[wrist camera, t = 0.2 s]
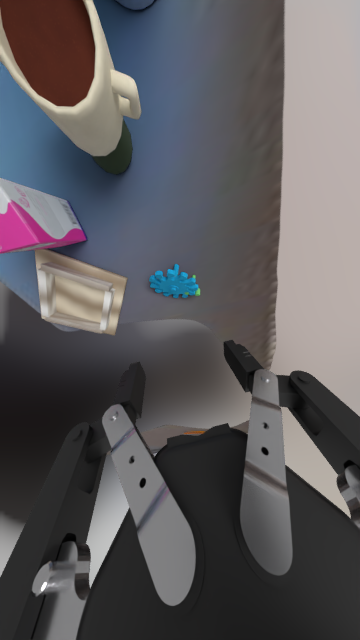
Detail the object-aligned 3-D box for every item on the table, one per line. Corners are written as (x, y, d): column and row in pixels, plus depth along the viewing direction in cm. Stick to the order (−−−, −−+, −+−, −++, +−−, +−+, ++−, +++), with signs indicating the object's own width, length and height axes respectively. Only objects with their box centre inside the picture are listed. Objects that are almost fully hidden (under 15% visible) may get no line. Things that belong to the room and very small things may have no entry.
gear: (143, 292, 29) (156, 269, 21) (148, 268, 31) (162, 238, 22) (186, 304, 34) (212, 290, 25) (189, 284, 35) (214, 263, 27)
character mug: (150, 118, 18) (131, -58, 7) (148, 188, 22) (132, 139, 11) (61, 87, 16) (-146, -215, 5) (74, 169, 20) (-34, 86, 9)
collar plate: (38, 245, 24) (21, 246, 21) (127, 278, 29) (123, 282, 26) (45, 316, 32) (32, 324, 29) (115, 333, 36) (111, 341, 33)
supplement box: (34, 209, 22) (-68, 186, 12) (69, 200, 22) (-7, 171, 12) (59, 248, 25) (-8, 254, 15) (89, 240, 25) (41, 242, 15)
